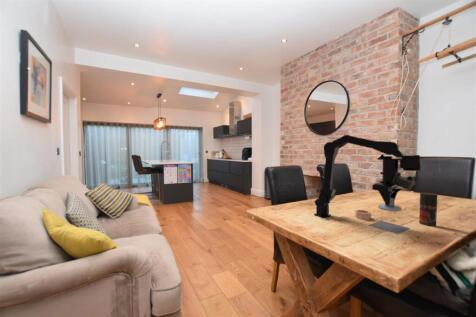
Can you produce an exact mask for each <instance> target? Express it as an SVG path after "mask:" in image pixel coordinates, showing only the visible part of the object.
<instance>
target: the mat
mask: <svg viewBox="0 0 476 317" xmlns="http://www.w3.org/2000/svg"><path fill="white" fill-rule="evenodd" d="M367 226H369V227H372V228H375V229H379V230H382V231H386V232H389V233H392V234H396V235H399V234H401V233H404V232H405V231H408V230H410V229H411V227H407V226H403V225H399V224H395V223H391V222H387V221H384V220H378V221H376V222H372V223H370V224H368V225H367Z"/></svg>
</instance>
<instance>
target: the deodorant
mask: <svg viewBox="0 0 476 317" xmlns="http://www.w3.org/2000/svg"><path fill="white" fill-rule="evenodd" d="M437 213H438V194H437V193H432V192H420V193H419V217H418V218H419V219H418V222H419V224H420V225H422V226H427V227H437V218H438V217H437Z"/></svg>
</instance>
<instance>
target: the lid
mask: <svg viewBox="0 0 476 317" xmlns="http://www.w3.org/2000/svg"><path fill="white" fill-rule="evenodd" d="M395 200H396V198H395V199H393V198H390V203H389V205H386V204H385V203H380V204H378V205H377V206H378V207H377V208H378V209H380V210H383V211H387V212H401V211H402V207H401V206H399V205H395Z"/></svg>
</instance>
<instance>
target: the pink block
mask: <svg viewBox="0 0 476 317" xmlns="http://www.w3.org/2000/svg"><path fill="white" fill-rule="evenodd" d="M354 217H355V219H358V220H362V221H370V220H372V212H371V211H369V210H365V209H356V210H354Z"/></svg>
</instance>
